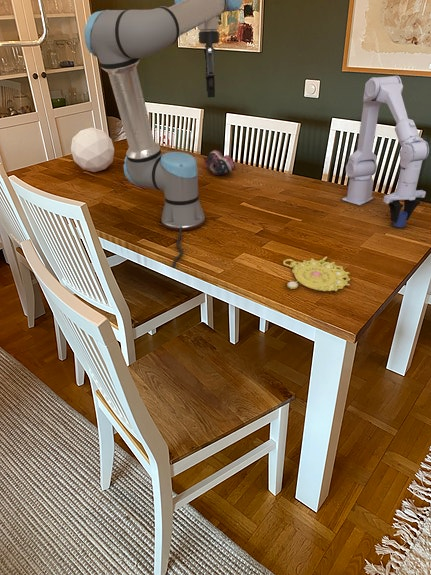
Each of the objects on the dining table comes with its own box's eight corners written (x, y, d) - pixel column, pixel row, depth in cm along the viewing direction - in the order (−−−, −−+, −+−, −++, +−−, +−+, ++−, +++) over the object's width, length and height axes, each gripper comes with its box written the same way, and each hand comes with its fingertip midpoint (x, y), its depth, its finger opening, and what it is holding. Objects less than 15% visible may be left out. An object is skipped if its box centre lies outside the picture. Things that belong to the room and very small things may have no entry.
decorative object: (332, 298, 110) (265, 270, 120) (331, 306, 111) (265, 278, 122) (367, 265, 123) (304, 242, 133) (365, 272, 125) (303, 249, 135)
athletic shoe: (215, 150, 209) (192, 156, 205) (235, 143, 189) (210, 149, 185) (221, 174, 212) (199, 180, 208) (241, 169, 192) (217, 176, 188)
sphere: (101, 187, 208) (88, 161, 190) (70, 166, 213) (54, 139, 194) (127, 159, 213) (117, 131, 194) (96, 140, 218) (83, 111, 199)
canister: (394, 227, 147) (396, 214, 144) (391, 222, 150) (394, 210, 148) (406, 227, 146) (409, 215, 144) (403, 222, 150) (406, 210, 147)
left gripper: (220, 32, 149) (222, 99, 161) (217, 28, 170) (218, 88, 182) (198, 32, 149) (201, 100, 161) (198, 29, 170) (200, 89, 182)
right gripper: (396, 187, 135) (388, 228, 142) (435, 181, 139) (425, 221, 146) (382, 180, 141) (375, 220, 148) (420, 174, 144) (411, 213, 152)
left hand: (210, 94), depth 171 cm, fingers open, 13 cm apart
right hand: (399, 220), depth 148 cm, fingers open, 4 cm apart
